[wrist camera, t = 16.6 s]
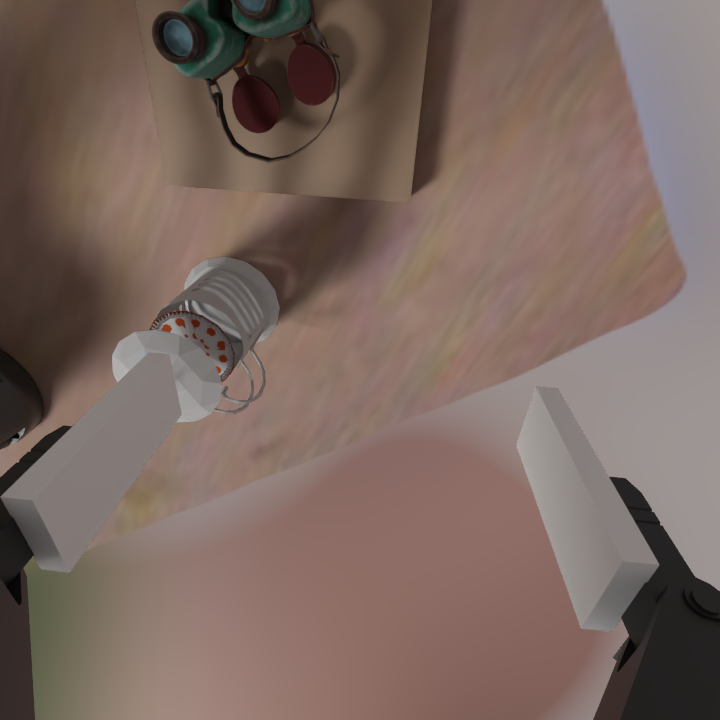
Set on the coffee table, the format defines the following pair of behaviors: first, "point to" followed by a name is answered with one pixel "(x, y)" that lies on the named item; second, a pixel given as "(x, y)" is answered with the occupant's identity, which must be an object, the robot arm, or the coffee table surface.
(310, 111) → the walnut stand
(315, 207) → the coffee table surface
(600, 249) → the coffee table surface
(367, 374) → the coffee table surface
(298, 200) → the coffee table surface
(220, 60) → the binoculars
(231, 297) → the white plunger jar
